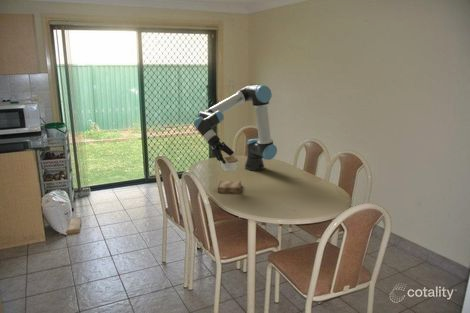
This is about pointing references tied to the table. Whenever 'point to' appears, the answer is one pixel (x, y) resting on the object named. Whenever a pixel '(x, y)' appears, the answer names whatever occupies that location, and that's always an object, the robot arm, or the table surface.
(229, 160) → the lidded jar
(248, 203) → the table surface
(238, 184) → the base
